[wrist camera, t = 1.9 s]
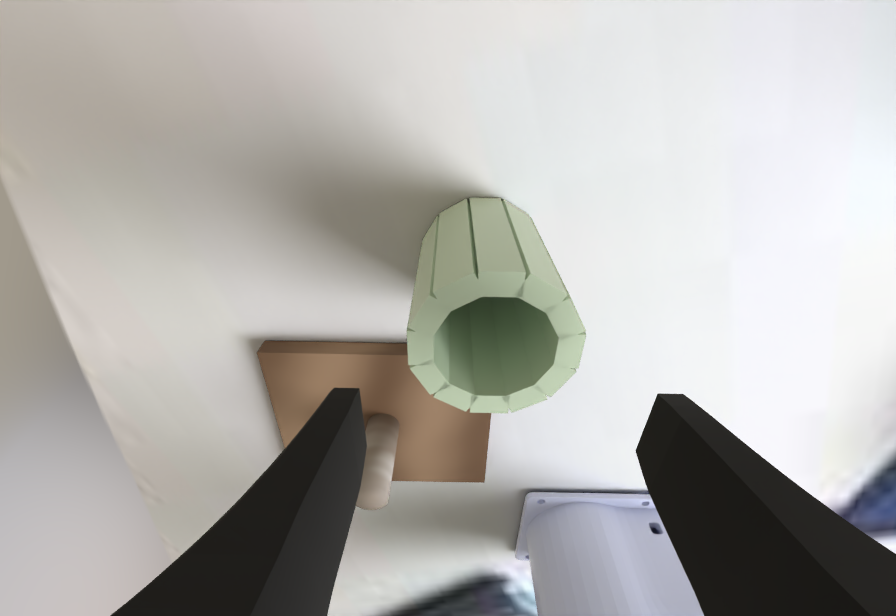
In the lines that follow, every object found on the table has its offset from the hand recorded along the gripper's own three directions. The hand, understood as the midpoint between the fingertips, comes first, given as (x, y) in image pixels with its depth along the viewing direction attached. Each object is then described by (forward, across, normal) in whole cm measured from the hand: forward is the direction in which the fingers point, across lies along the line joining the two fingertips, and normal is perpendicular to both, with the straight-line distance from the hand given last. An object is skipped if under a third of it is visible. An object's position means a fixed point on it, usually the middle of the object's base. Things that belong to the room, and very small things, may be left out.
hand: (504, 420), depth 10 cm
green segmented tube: (+10, 0, 0) cm, 10 cm away
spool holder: (+10, +5, +10) cm, 15 cm away
